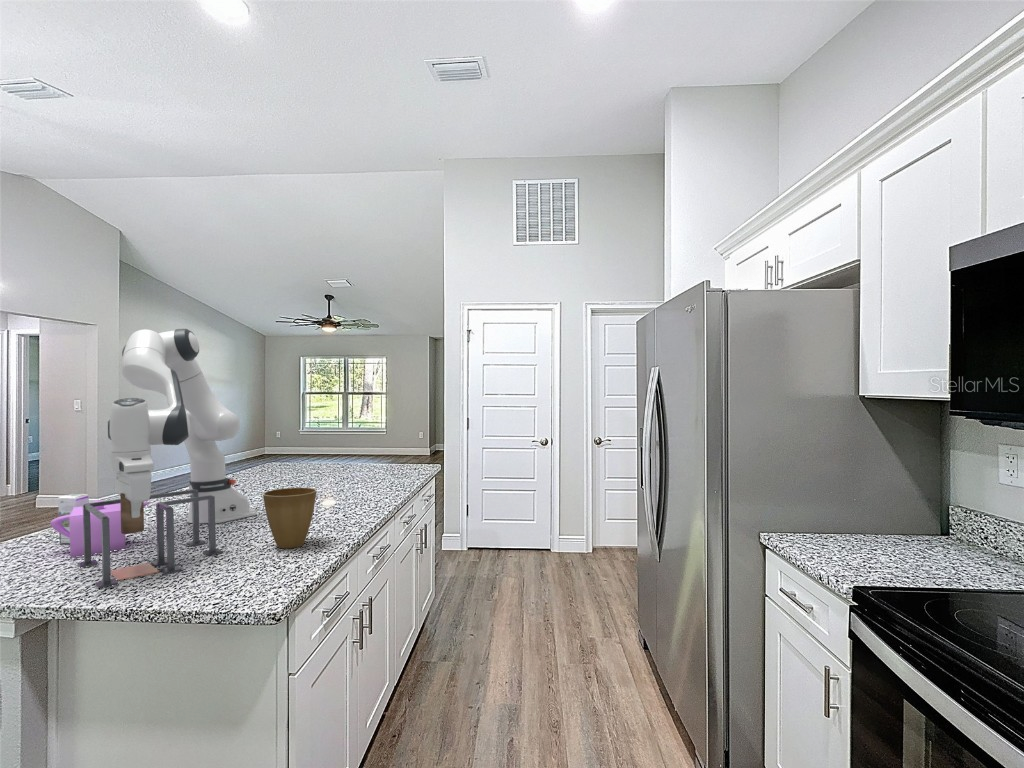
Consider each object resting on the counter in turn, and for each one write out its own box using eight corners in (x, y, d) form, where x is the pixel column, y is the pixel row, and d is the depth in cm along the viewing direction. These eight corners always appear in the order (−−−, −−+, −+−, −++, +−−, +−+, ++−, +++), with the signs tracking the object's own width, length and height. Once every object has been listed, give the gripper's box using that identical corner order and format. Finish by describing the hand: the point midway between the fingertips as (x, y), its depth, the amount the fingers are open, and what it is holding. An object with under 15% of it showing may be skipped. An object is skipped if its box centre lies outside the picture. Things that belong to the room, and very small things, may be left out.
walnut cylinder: (119, 531, 154) (118, 492, 154) (141, 527, 157) (140, 489, 157) (123, 534, 150) (122, 495, 150) (146, 531, 154) (145, 492, 154)
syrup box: (91, 539, 188) (90, 493, 188) (75, 544, 182) (74, 497, 182) (74, 539, 188) (73, 493, 188) (58, 544, 182) (57, 497, 182)
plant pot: (314, 550, 171) (313, 494, 171) (259, 554, 168) (258, 497, 168) (320, 536, 186) (319, 485, 186) (269, 540, 183) (268, 488, 183)
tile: (148, 564, 161) (148, 562, 161) (159, 572, 153) (159, 570, 153) (108, 572, 154) (108, 570, 154) (117, 581, 147) (117, 579, 147)
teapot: (153, 546, 179) (152, 499, 179) (48, 561, 165) (47, 510, 165) (152, 535, 192) (151, 491, 192) (54, 548, 178) (52, 501, 178)
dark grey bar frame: (201, 541, 183) (200, 487, 183) (234, 559, 164) (232, 499, 163) (77, 565, 161) (75, 504, 161) (98, 589, 142) (96, 519, 142)
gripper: (107, 459, 159) (108, 511, 159) (126, 466, 144) (127, 523, 144) (134, 457, 163) (135, 507, 163) (155, 463, 149) (156, 519, 149)
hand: (132, 515), depth 154 cm, fingers closed on walnut cylinder, 5 cm apart
